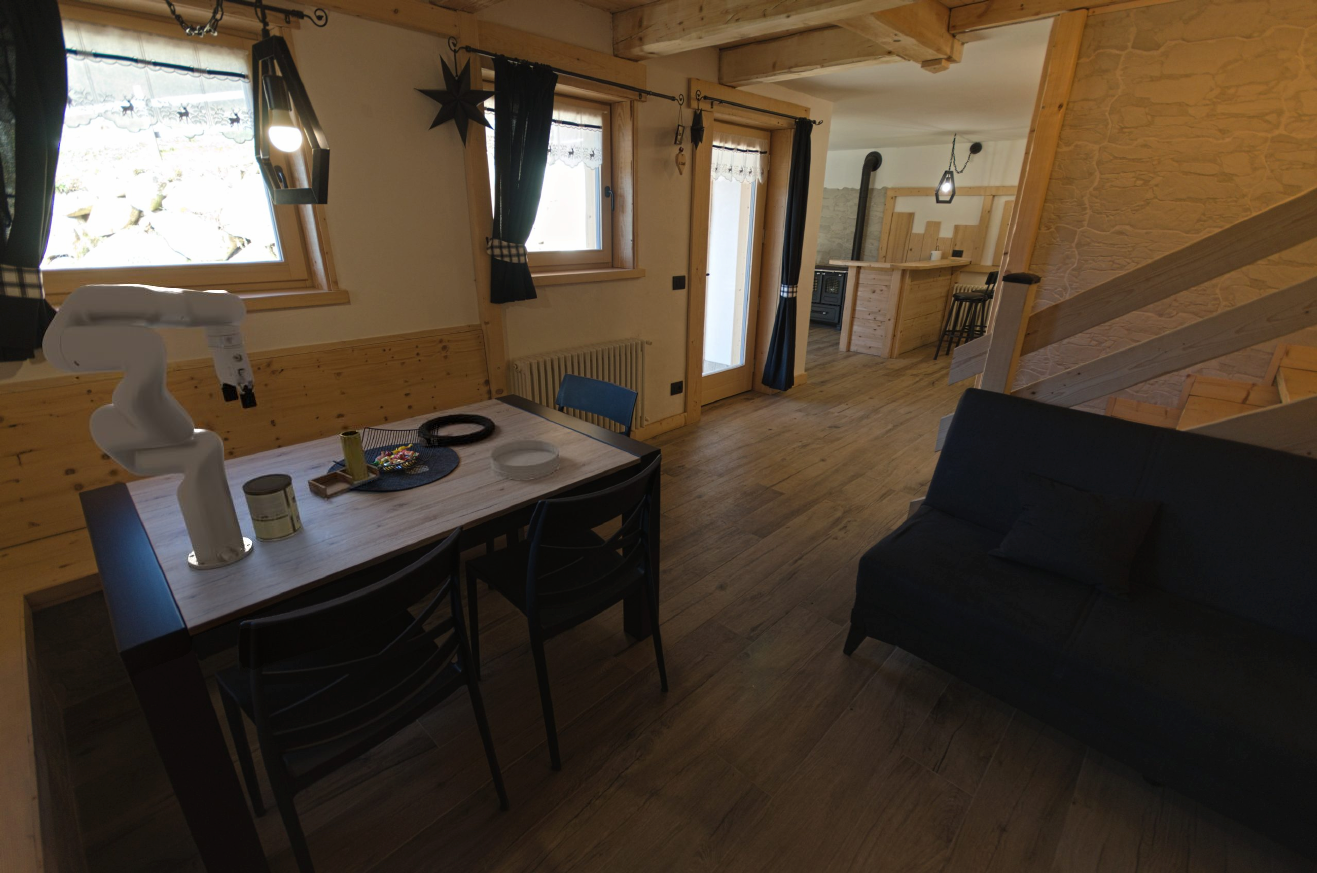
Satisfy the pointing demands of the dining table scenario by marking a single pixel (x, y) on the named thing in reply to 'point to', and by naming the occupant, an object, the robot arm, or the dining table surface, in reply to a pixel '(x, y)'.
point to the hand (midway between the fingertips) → (240, 404)
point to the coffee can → (272, 507)
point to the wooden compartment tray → (338, 482)
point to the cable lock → (460, 439)
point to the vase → (354, 455)
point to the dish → (525, 459)
